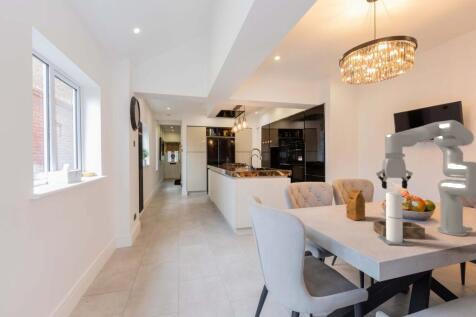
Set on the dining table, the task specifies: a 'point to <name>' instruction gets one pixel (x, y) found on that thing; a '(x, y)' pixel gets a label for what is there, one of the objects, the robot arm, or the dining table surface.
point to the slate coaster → (394, 242)
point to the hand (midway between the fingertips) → (394, 188)
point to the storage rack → (408, 229)
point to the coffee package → (355, 205)
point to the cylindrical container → (394, 217)
